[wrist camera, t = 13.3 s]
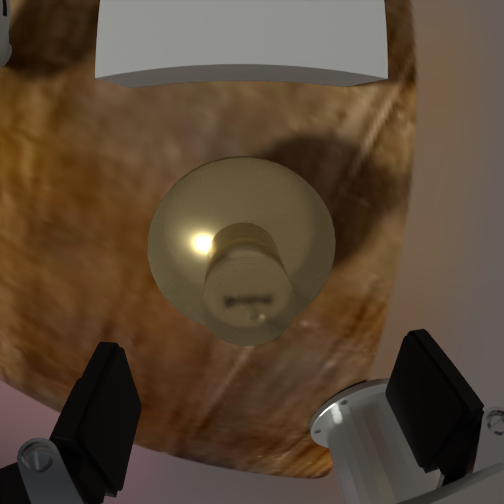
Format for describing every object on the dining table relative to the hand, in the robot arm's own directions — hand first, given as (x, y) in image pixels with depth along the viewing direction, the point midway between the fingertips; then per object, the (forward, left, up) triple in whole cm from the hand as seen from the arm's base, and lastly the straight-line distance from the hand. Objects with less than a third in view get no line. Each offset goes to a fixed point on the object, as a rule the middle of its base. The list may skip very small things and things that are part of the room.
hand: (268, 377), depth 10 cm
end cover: (+1, 0, -13) cm, 13 cm away
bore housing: (+14, -10, -13) cm, 22 cm away
